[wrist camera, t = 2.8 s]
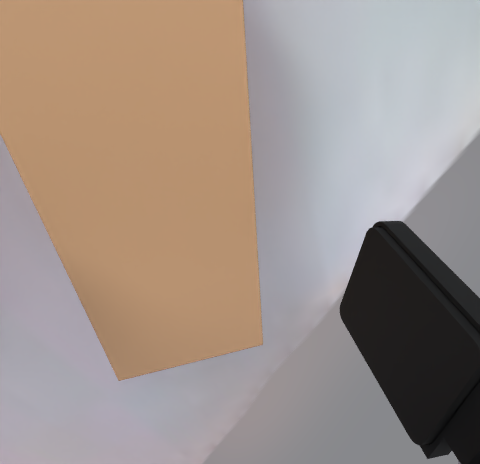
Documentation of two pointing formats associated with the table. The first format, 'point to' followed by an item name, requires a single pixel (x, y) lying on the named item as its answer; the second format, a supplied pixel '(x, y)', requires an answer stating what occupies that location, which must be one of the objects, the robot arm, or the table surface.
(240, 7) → the block
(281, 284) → the table surface
